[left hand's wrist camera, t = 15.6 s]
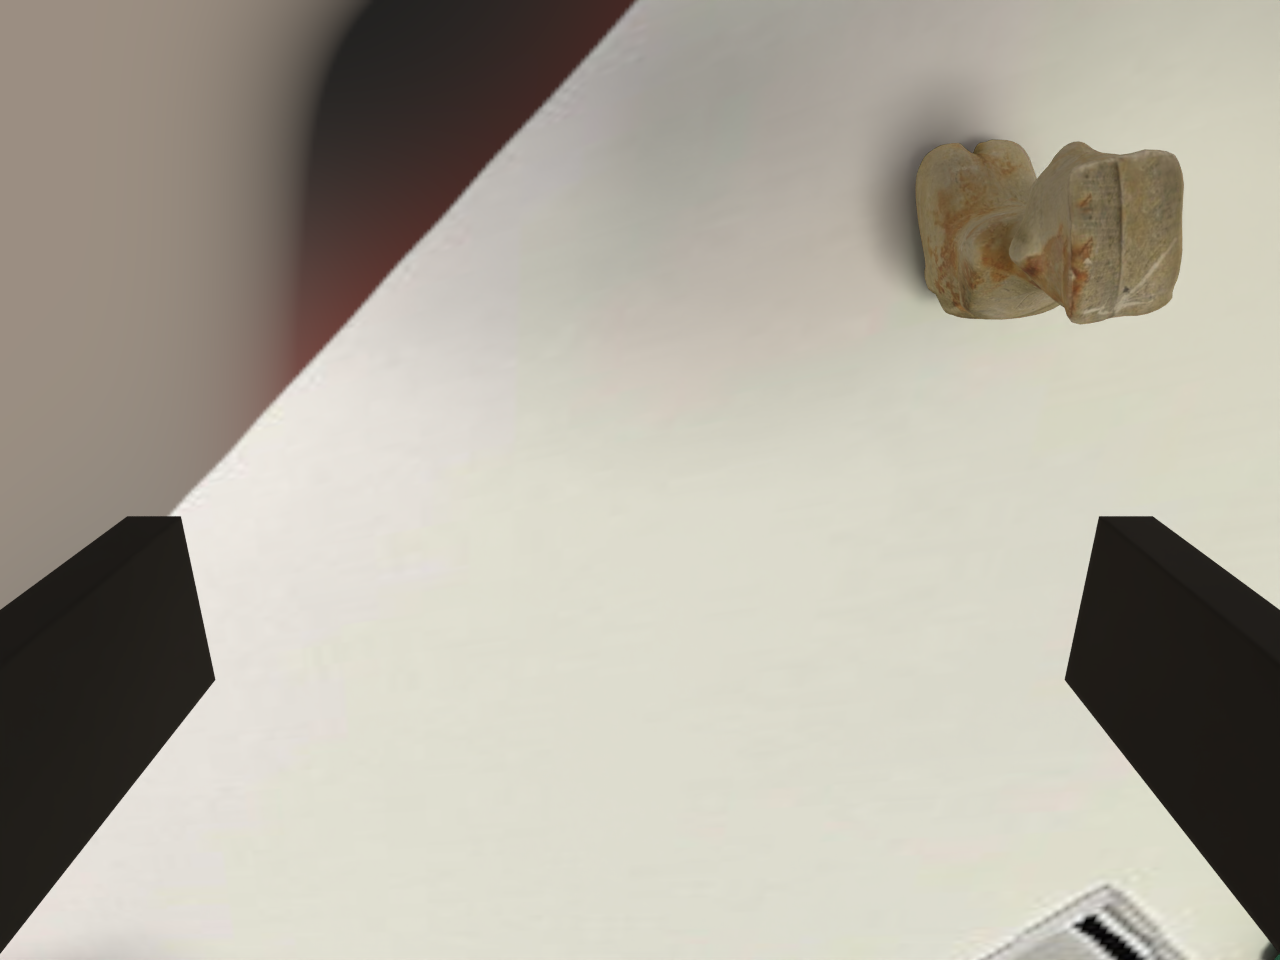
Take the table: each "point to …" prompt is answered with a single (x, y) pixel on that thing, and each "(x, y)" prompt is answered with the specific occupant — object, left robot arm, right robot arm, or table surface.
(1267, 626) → the left robot arm
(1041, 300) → the sculpture
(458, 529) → the table surface
